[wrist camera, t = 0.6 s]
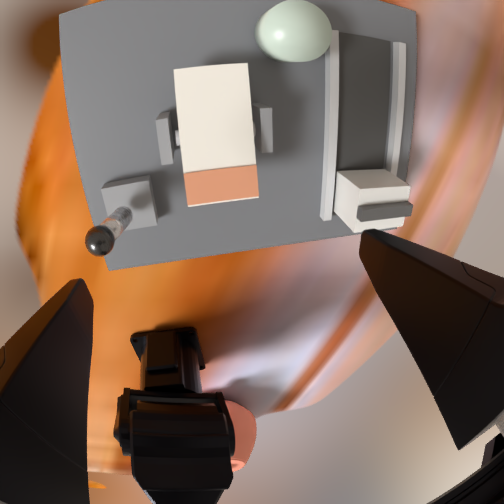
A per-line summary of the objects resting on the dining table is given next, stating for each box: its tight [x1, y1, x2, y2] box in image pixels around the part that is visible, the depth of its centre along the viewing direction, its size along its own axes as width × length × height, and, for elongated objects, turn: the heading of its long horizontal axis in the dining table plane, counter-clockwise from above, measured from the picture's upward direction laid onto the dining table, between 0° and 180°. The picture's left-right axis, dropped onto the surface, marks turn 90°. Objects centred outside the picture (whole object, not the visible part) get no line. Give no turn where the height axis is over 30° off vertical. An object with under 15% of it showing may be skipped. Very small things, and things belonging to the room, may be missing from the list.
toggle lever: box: [85, 206, 133, 257], centre depth 15 cm, size 2×2×4 cm
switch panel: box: [59, 0, 417, 271], centre depth 17 cm, size 18×23×5 cm
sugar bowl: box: [225, 400, 256, 472], centre depth 33 cm, size 12×14×10 cm
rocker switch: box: [174, 63, 259, 207], centre depth 15 cm, size 7×4×1 cm, turn 2°
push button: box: [255, 0, 332, 62], centre depth 13 cm, size 4×4×2 cm
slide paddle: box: [333, 169, 413, 233], centre depth 19 cm, size 3×4×4 cm
